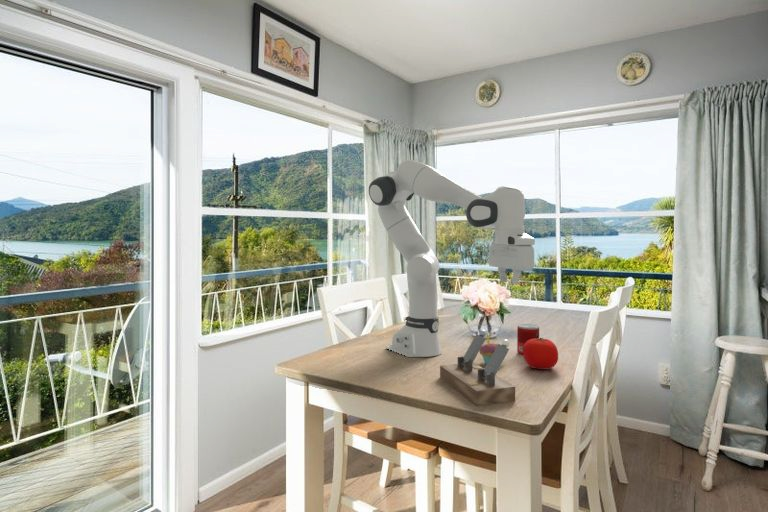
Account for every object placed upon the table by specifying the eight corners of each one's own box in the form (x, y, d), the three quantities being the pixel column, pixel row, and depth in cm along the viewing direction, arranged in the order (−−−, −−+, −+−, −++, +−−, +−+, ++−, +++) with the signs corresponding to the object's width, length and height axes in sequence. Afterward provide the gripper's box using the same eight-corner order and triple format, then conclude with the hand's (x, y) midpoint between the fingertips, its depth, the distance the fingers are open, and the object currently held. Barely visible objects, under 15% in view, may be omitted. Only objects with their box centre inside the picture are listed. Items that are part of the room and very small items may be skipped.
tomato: (549, 362, 159) (549, 333, 158) (564, 373, 147) (564, 342, 146) (518, 362, 158) (518, 334, 158) (530, 373, 146) (531, 342, 146)
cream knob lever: (486, 376, 128) (506, 340, 129) (493, 380, 125) (513, 343, 126) (481, 373, 128) (501, 336, 129) (487, 377, 124) (507, 339, 125)
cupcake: (486, 368, 152) (486, 333, 152) (474, 361, 161) (475, 328, 160) (508, 366, 155) (508, 332, 154) (496, 359, 163) (496, 327, 162)
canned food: (540, 357, 166) (540, 328, 165) (518, 356, 167) (518, 327, 167) (537, 351, 173) (537, 324, 173) (516, 350, 175) (516, 323, 174)
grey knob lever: (465, 364, 141) (483, 330, 142) (471, 367, 137) (489, 333, 138) (460, 360, 140) (478, 327, 141) (465, 364, 137) (484, 330, 138)
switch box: (473, 374, 146) (473, 352, 145) (515, 400, 123) (515, 375, 122) (440, 377, 142) (440, 355, 142) (476, 405, 119) (477, 379, 119)
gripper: (483, 238, 146) (483, 279, 147) (519, 239, 126) (519, 287, 127) (500, 238, 148) (499, 279, 149) (538, 239, 128) (537, 286, 129)
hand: (509, 283), depth 138 cm, fingers open, 5 cm apart
